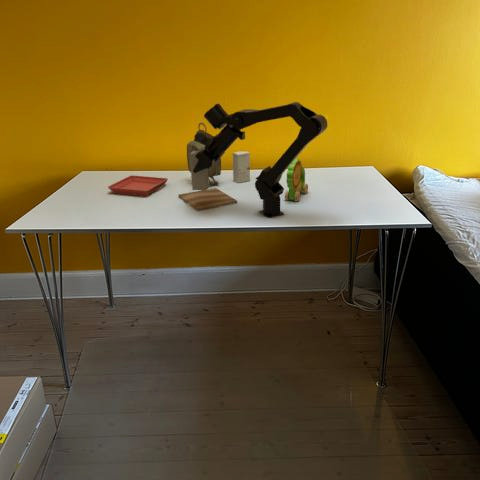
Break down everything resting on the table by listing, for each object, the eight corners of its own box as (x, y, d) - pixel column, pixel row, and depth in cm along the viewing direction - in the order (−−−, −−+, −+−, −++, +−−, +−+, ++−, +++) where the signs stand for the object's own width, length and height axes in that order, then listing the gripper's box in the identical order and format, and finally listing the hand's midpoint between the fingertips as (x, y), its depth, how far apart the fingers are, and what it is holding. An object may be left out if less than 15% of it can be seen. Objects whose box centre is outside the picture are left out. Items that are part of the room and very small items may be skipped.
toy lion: (295, 190, 188) (296, 152, 182) (308, 192, 186) (310, 153, 180) (281, 203, 175) (282, 162, 169) (295, 205, 173) (296, 164, 166)
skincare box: (238, 183, 198) (237, 154, 193) (232, 180, 202) (231, 152, 197) (250, 180, 201) (250, 152, 196) (244, 178, 205) (244, 150, 200)
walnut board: (237, 203, 176) (237, 200, 175) (197, 210, 169) (197, 208, 168) (215, 190, 190) (215, 187, 190) (178, 197, 183) (178, 194, 183)
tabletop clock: (222, 185, 195) (219, 124, 185) (202, 189, 191) (198, 126, 181) (206, 177, 207) (203, 119, 197) (187, 180, 203) (183, 121, 193)
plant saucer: (131, 182, 204) (130, 174, 203) (169, 185, 199) (168, 177, 198) (107, 195, 189) (106, 187, 188) (147, 199, 183) (147, 190, 182)
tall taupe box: (206, 190, 168) (203, 154, 163) (192, 190, 169) (189, 154, 164) (209, 186, 172) (206, 151, 167) (195, 186, 173) (193, 150, 168)
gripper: (214, 117, 169) (187, 148, 176) (199, 127, 152) (170, 160, 159) (237, 140, 171) (209, 169, 177) (224, 152, 154) (194, 184, 161)
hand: (195, 170), depth 169 cm, fingers closed on tall taupe box, 4 cm apart
